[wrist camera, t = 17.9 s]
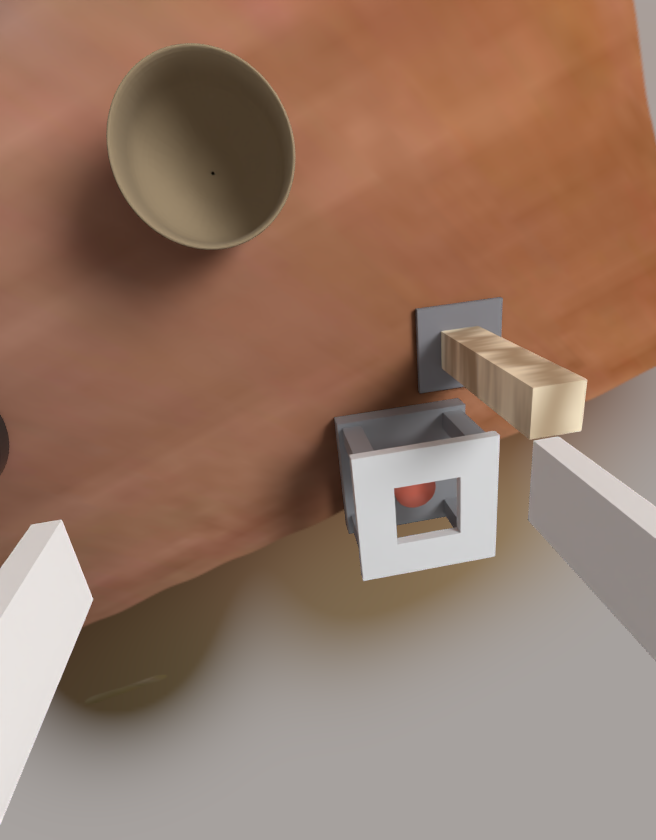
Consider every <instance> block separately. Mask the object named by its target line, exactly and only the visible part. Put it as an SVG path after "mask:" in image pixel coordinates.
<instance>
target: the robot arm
mask: <svg viewBox="0 0 656 840" xmlns="http://www.w3.org/2000/svg"><path fill="white" fill-rule="evenodd" d="M8 454H9V438H8V433H7V429H6V426H5V423H4V421H3V419H2V417H1V415H0V474H1V473H2V471H3V469H4V467H5V465H6V462H7V459H8ZM530 486H531V487H530V500H529V515H528V520H529V522H530V523H531V524H532V525H533V526H534V527H535V528H536V529H537V531H538V532H539V533H540V534H541V535H542V536H543V537H544V538H545V539H546V541H547V542H548V543H549V544H550V545H551V546H552V547H553V548H554V549H555V550H556V552H557V553H558V554H559V555H560V556H561V557H562V558H563V559H564V560H565V562H567V564H568V565H569V566H570V567H571V568H572V569H573V570H574V571H575V573H577V575H578V576H579V577H580V578H581V579H582V580H583V581H584V583H586V585H587V586H588V587H589V588H590V589H591V590H592V591H593V592H594V594H595V595H596V596H597V597H598V598H599V599H600V600H601V601H602V602H603V603H604V605H605V606H606V607H607V608H608V609H609V610H610V611H611V612H612V614H614V616H615V617H616V618H617V619H618V620H619V621H620V622H621V623H622V624H623V625H624V627H625V628H626V629H627V630H628V631H629V632H630V633H631V634H632V636H633V637H634V638H635V639H636V640H637V641H638V642H639V643H640V644H641V645H642V647H643V648H644V649H645V650H646V651H647V652H648V653H649V654H650V655H651V657H652V658H653V659H654V660H655V661H656V506H654V505H653V504H651V503H650V502H649V501H647V500H646V499H644V498H643V497H642V496H640V495H639V494H638V493H636V492H635V491H633V490H632V489H631V488H629V487H628V486H626V485H625V484H624V483H622V482H621V481H620V480H618V479H617V478H615V477H614V476H613V475H611V474H610V473H608V472H607V471H606V470H604V469H603V468H602V467H600V466H599V465H597V464H596V463H595V462H593V461H592V460H591V459H589V458H587V457H586V456H585V455H584V454H582V453H581V452H580V451H578V450H577V449H575V448H574V447H573V446H571V445H570V444H568V443H567V442H566V441H564V440H563V439H561V438H560V437H553V438H547V439H541V440H536V441H534V443H533V456H532V471H531V485H530ZM92 601H93V598H92V595H91V593H90V590H89V588H88V585H87V583H86V580H85V577H84V575H83V572H82V570H81V567H80V565H79V562H78V560H77V557H76V555H75V552H74V549H73V547H72V544H71V542H70V539H69V537H68V534H67V532H66V529H65V527H64V524H63V522H62V520H56V521H50V522H44V523H38V524H32V525H31V526H30V528H29V529H28V530H27V532H26V533H25V535H24V536H23V537H22V539H21V540H20V542H19V543H18V544H17V546H16V547H15V549H14V550H13V551H12V553H11V554H10V556H9V557H8V558H7V560H6V561H5V563H4V564H3V565H2V567H1V568H0V824H1V822H2V819H3V817H4V814H5V812H6V809H7V807H8V805H9V802H10V800H11V797H12V795H13V793H14V790H15V787H16V785H17V782H18V780H19V778H20V776H21V773H22V771H23V768H24V766H25V763H26V761H27V759H28V756H29V754H30V751H31V748H32V746H33V744H34V742H35V739H36V737H37V734H38V732H39V730H40V727H41V725H42V722H43V719H44V717H45V715H46V712H47V710H48V708H49V705H50V703H51V700H52V698H53V696H54V693H55V691H56V688H57V686H58V683H59V681H60V679H61V676H62V674H63V671H64V669H65V666H66V664H67V662H68V659H69V657H70V654H71V652H72V649H73V647H74V645H75V642H76V640H77V637H78V635H79V633H80V630H81V628H82V625H83V623H84V620H85V618H86V616H87V613H88V611H89V608H90V606H91V603H92Z"/></svg>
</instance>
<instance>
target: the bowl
mask: <svg viewBox="0 0 656 840" xmlns="http://www.w3.org/2000/svg"><path fill="white" fill-rule="evenodd" d="M106 136H107V150H108V157H109V161H110V165H111V169H112V172H113V175H114V178H115V180H116V182H117V185H118V187H119V189H120V191H121V193H122V194H123V196H124V198H125V199H126V201H127V202H128V204H129V205H130V207H131V208H132V209H133V210H134V212H135V213H136V214H137V215H138V216H139V217H140V218H141V219H142V220H143V221H144V222H145V223H146V224H147V225H148V226H149V227H151V228H152V229H153V230H155V231H156V232H157V233H159V234H160V235H162V236H164V237H165V238H167V239H169V240H171V241H173V242H176V243H178V244H181V245H184V246H187V247H191V248H196V249H205V250H217V249H226V248H230V247H234V246H237V245H240V244H243V243H245V242H247V241H249V240H251V239H252V238H254V237H256V236H257V235H259V234H260V233H261V232H263V231H264V230H265V229H266V228H267V227H268V226H269V225H270V224H271V223H272V222H273V221H274V220H275V218H276V217H277V215H278V214H279V213H280V211H281V209H282V208H283V206H284V204H285V202H286V200H287V198H288V195H289V192H290V189H291V186H292V182H293V178H294V171H295V145H294V138H293V133H292V128H291V125H290V122H289V119H288V116H287V114H286V111H285V109H284V107H283V105H282V103H281V101H280V99H279V97H278V96H277V94H276V92H275V91H274V90H273V88H272V87H271V86H270V84H269V83H268V82H267V81H266V79H265V78H264V77H263V76H262V75H261V74H260V73H259V72H258V71H257V70H256V69H255V68H253V67H252V66H251V65H250V64H248V63H247V62H246V61H244V60H243V59H241V58H239V57H238V56H236V55H234V54H232V53H230V52H228V51H226V50H223V49H221V48H218V47H214V46H210V45H204V44H194V43H187V44H177V45H172V46H168V47H165V48H162V49H160V50H157V51H155V52H153V53H151V54H150V55H148V56H146V57H145V58H143V59H142V60H141V61H139V62H138V63H137V64H136V65H135V66H134V67H133V68H132V69H131V70H130V71H129V72H128V74H127V75H126V76H125V77H124V79H123V80H122V82H121V84H120V85H119V87H118V89H117V91H116V93H115V95H114V98H113V101H112V103H111V107H110V111H109V115H108V121H107V135H106Z"/></svg>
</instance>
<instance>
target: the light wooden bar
mask: <svg viewBox="0 0 656 840" xmlns="http://www.w3.org/2000/svg"><path fill="white" fill-rule="evenodd" d="M441 361H442V369H443V370H444V371H446V372H447V373H448V374H449V375H451V376H452V377H453V378H454V379H456V380H457V381H458V382H459V383H460V384H462V385H463V386H464V387H465V388H467V389H468V390H469V391H470V392H472V393H473V394H474V395H475V396H477V397H478V398H479V399H480V400H481V401H483V402H484V403H485V404H486V405H488V406H489V407H490V408H491V409H493V410H494V411H495V412H496V413H498V414H499V415H500V416H501V417H502V418H504V419H505V420H506V421H507V422H509V423H510V424H511V425H512V426H514V427H515V428H516V429H517V430H519V431H520V432H521V433H522V434H523V435H525V436H526V437H527V438H528V439H536V438H542V437H548V436H554V435H560V434H565V433H572V432H578V431H581V430H582V420H583V412H584V404H585V395H586V386H587V379H585V378H583V377H581V376H579V375H577V374H575V373H573V372H571V371H569V370H567V369H565V368H563V367H561V366H559V365H557V364H555V363H553V362H551V361H549V360H547V359H545V358H542V357H540V356H538V355H536V354H534V353H532V352H530V351H528V350H526V349H524V348H522V347H520V346H518V345H516V344H514V343H512V342H510V341H508V340H506V339H504V338H502V337H500V336H498V335H496V334H494V333H492V332H490V331H488V330H485V329H483V328H481V327H479V326H474V327H467V328H460V329H453V330H446V331H441Z"/></svg>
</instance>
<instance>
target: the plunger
mask: <svg viewBox="0 0 656 840" xmlns="http://www.w3.org/2000/svg"><path fill="white" fill-rule="evenodd" d="M435 489H436V484H435V481H434V482H429V483H423V484H417V485H411V486H405V487H400V488H394V495H395V497H396V499H397V501H398V502H399V503H400V504H401V505H403V506H405V507H410V508H415V507H419V506H422V505H424V504H426V503H427V502H428V501H429V500H430V499H431V498H432V497H433V495H434V493H435Z"/></svg>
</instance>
